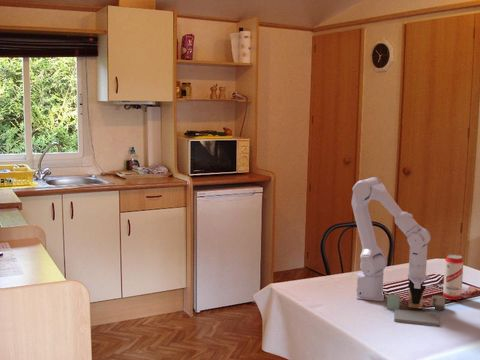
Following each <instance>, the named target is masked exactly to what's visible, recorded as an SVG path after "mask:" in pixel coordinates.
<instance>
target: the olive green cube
mask: <svg viewBox="0 0 480 360" xmlns="http://www.w3.org/2000/svg"><path fill="white" fill-rule="evenodd" d="M400 300H401V299H400V294H389V293H388V294H387V301H386V302H387V304H386V306H387V307H386V308H387V310H393V311H395V309H398V310H400Z"/></svg>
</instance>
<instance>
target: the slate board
mask: <svg viewBox="0 0 480 360" xmlns="http://www.w3.org/2000/svg"><path fill="white" fill-rule="evenodd" d="M393 322H396V323H405V324H412V325H425V326H433V327H439V326H440V319H439V314H438V313H434V312H426V311H416V310H415V311H414V310H406V309H405V310H404V309H399V310H398V309H395V310H394V318H393Z"/></svg>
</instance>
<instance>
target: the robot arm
mask: <svg viewBox="0 0 480 360" xmlns="http://www.w3.org/2000/svg"><path fill="white" fill-rule="evenodd" d="M351 189H352V196H351V197H352V198H351V207H352V211H353V216H354V219H355V224H356V226H357V227H356V228H357V231H358V235H359V239H360V243H361V248H362V249H361V253H360V255H359V257H360V265H359V267H360V270H361V271H359V272H358V273H357V280H356V282H357V283H356V284H357V285H356V299H357V300H367V301H368V300H369V301H378V302H384V300H385V299H384V298H385V293H384V294H383V292H384V271H385V269H386V267H387V266H388V260H387V258H386V256H385V255H384V253H383V249H381V248H380V246H378V242H377V239H376V233H375V231H374V227H373V223H372V219H371V214H370V211H369V207H368V206H369V203H370V201H371V200H372V201H378V202H380V204H381V205H382V206H383V207H384V208H385V209H386V210H387V211H388V212H389V213H390V214H391V215H392V216H393V217H394V223H395V225H396V226H397V227H398V228H399V230H400V231H401V232H402V233H403V234H404V235H405V236H406V237H407V239H406V240H407V244H408V245H409V256H408V258H409V259H408V261H409V262H408V274H407V279H408V282H409V283H408V284H407V286H408V290H409V289H410V291H411V296H412V303H413V304H419V303H420V299H421V296H422V293H423V294H424V291H425V290H426V285H424V283H425V282H426V280H430V276H429V275H427V264H428V259H427V258H428V243H430V241H431V240H432V239H431V234H430V232H429V229H427V228H424V227H422V226H421V225H420V224H419V223H418V222H417V221H416V220H415V218H413V217H414V215H413V214H412V213H409V212H408V211H404V210H402V209H401V207H400V206H399V205H398V203H397V202H396V201H395V199H393V197H392V196H391V194H390V193H389V192H388V191H387V188H386V186H385V184H383V183H382V181H381V179H379V178H378V177H376V176H372V177H369V178H366V179H361V180H357V182H355V184H354V185H353V187H352V188H351Z"/></svg>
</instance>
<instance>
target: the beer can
mask: <svg viewBox="0 0 480 360" xmlns="http://www.w3.org/2000/svg"><path fill="white" fill-rule="evenodd" d="M443 273H444V274H443V286H442V287H443V291H442V296H443V297H444V298H448V299H454V300H455V299H459V300H461V299H462V289H463V273H464V259H463V256H462V255H459V254H456V253H454V254H453V253H451V254H450V253H448V254H447V256H446V258H445V259H444V272H443Z"/></svg>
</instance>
